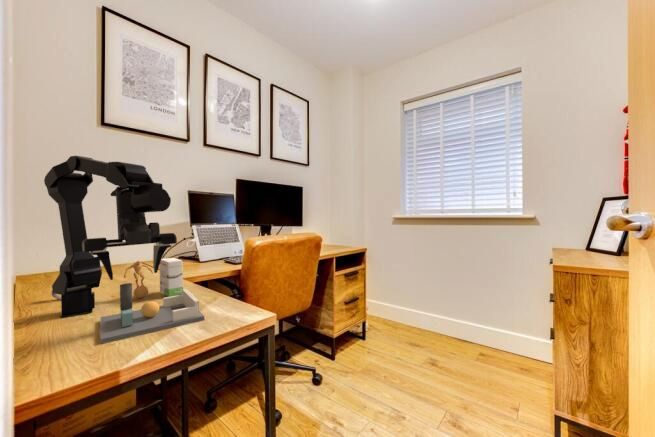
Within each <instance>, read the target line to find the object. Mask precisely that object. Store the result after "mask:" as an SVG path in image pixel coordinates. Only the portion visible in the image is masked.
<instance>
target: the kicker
mask: <svg viewBox="0 0 655 437" xmlns="http://www.w3.org/2000/svg"><path fill="white" fill-rule="evenodd" d="M119 300H120V302H119V306H120V307H119V310H120V313H121V321H122V326H123V327H125V326H130V325H133V311H134V310H133V283H130V282H127V283H121V284H119Z"/></svg>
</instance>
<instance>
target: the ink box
mask: <svg viewBox="0 0 655 437" xmlns="http://www.w3.org/2000/svg"><path fill="white" fill-rule="evenodd" d="M183 270H184V269H183V260H182V259H178V258H176V257H169V258H168V257H167V258H162V259H161V262H160V265H159V293H160V294H163V295H164V296H166V297H171V296H177V295H183V291H182V290H183V289H184V274H183Z"/></svg>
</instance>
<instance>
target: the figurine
mask: <svg viewBox="0 0 655 437" xmlns="http://www.w3.org/2000/svg"><path fill="white" fill-rule="evenodd" d="M142 267H145V268H147V269H148V270H149V271H150V273H151V274H154V271H152V269H151V268H150V267H149V265H147V264H143V263H141V262H140V260H137V261H136V262H133V264H131V265H130V266H128V267H126V269H125V272H124V276H123V279H126V278H127V274H128V270H130V269H132V268H133V270H134V271H135V272H133V276H134V279H135V280H134V281H135V284H136V287H135V289H133V296H134V297H135V298H136V299H144V298H145V297H146V296H147V295H148V294H149V289H148V287H147V286H145V284H144V283H143V281H144V279H145V276H144V272H143V270H141V269H142ZM139 277H140V278H141V279H140V284H141V285H139V282H138V281H139Z"/></svg>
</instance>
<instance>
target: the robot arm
mask: <svg viewBox="0 0 655 437" xmlns="http://www.w3.org/2000/svg"><path fill="white" fill-rule="evenodd" d="M78 172H82V173H83V174H82V173H78ZM93 175H95V176H98V177H99V176H100V177H102V178H105V180H106V181H107V182H108V183H110V184H112V185H114V186H117V187H115V189H114V190H113V191H111V193H110V196H111V197H115V204H116V221H117V223H116V224H117V238H115V239H114V238H113V239H107V238H106V237H93V238H88V235H87V228H86V221H85V214H84V209H83V208H84V207H83V201H84V200H85V197H86V196H87V195H88V191H89V190H88V187H89V186H90V185H91V184H92V183H93V182H94V178H93ZM43 183H44V186H45V187H46V189H47V193H48V196H49V197H50V198H51V199H52V200H53V201H54V202H55V203H56V204H57V205H58V211H59V217H60V218H59V219H60V224H61V231H62V237H63V238H62V239H63V244H64V245H63V246H64V252H65V256H64V258H63V261H62V262H61V263H60V265H59V274H58V275H57V277H56V278H55V280H54V282H53V284H52V285H51V289H52V290H53V293H54V294H56V295H60V297H61V300H60V302H61V304H60V305H61V307H60V308H61V310H60V312H61V313H60V316H59V317H60V318H67V317H72V316H78V315H79V316H80V315H85V314H89V313H93V309H95V307H96V304H95V303H96V302H95V301H96V299H95V298H96V297H95V294H96V293H95V291H93V289H96V288H97V289H98V288H99V287H100V283H101V280H102V276H103V270H102V267H101V265H102V266H103V268H104V269H105V272H106V274H107V275H108V278H109V280H110V281H112V280H113V279H114V272H113V268H112V262H111V258H110V251H108V250H107V249H108V248H115V247H125V246H135V245H148V244H150V245H151V244H155V245H153V255H152V256H153V258H152V259H153V262H152V264H153V265H152V266H153V274H154V273H155V274H157V273H158V271H159V269H160V262H161V259H163V256H164V254H165V252H166V251H167V249H169V248H172V244H173V245H174V244H178V239H177V238H178V237H177V234H175V233H174V232H167V233H166V232H165V233H161V230H160V229H161V228H160V223H159V222H149V223H147V219H146V213H158V212H164V211H167V210H168V209H169V207H170V206H171V203H172V200H171V199H172V198H171V197H170V195H169V193H168V191H167V190H165V189H164V188H163V183H160V182H154V181H153V178H152V177H151V175H150V174H149V173H148V171H147V168H146V167H145V166H144V165H141V164H135V163H129V162H128V163H127V162H123V161H122V162H121V161H108V162H107V161H106V162H105V161H102V160H97V159H93V157H86V156H80V155H72V156H71V155H70V156H69V157H68V158H67V160H65V161H64V162H61V163H59V164H56V165H54V166H52V167H51V169H49V171H48V172H47V173H46V175H45V177H44V180H43ZM101 263H102V264H101Z"/></svg>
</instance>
